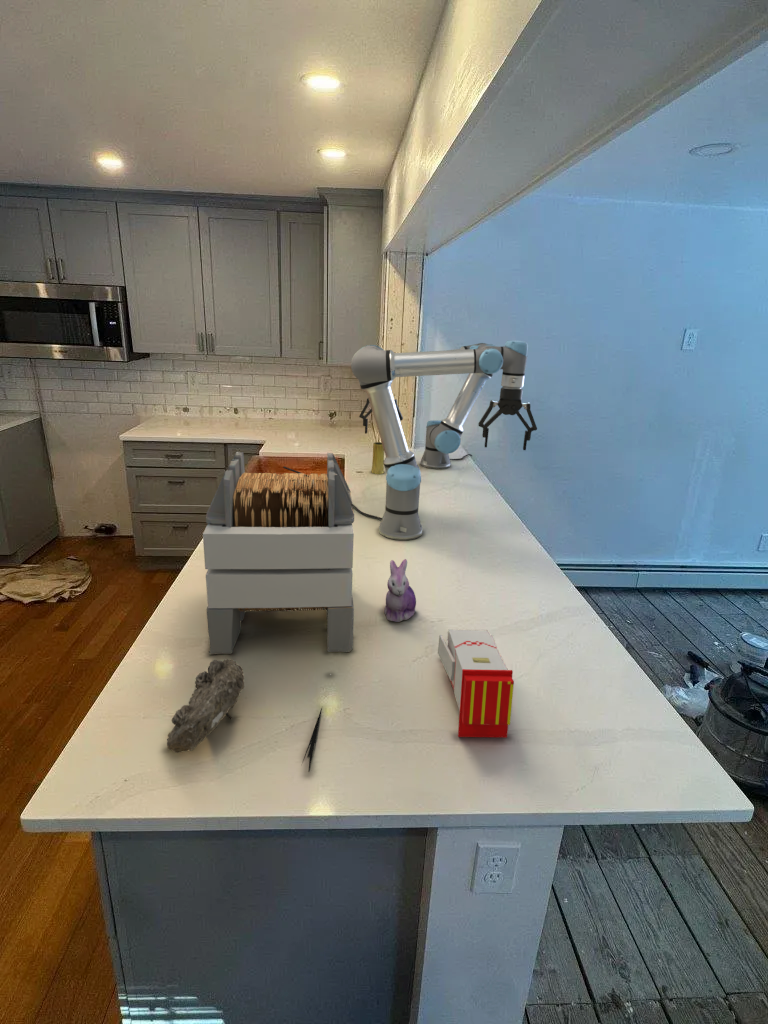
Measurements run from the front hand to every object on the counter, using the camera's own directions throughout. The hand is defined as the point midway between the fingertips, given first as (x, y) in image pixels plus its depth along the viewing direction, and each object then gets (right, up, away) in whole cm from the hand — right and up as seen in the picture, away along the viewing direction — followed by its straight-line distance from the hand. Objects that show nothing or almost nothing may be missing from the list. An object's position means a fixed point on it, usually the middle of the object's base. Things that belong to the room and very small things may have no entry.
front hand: (504, 448), depth 202 cm
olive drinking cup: (-46, -4, +71) cm, 85 cm away
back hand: (-45, +14, +64) cm, 79 cm away
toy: (-25, -60, -84) cm, 106 cm away
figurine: (-39, -49, -55) cm, 84 cm away
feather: (-56, -63, -94) cm, 126 cm away
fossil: (-76, -62, -94) cm, 136 cm away
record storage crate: (-68, -49, -59) cm, 103 cm away
